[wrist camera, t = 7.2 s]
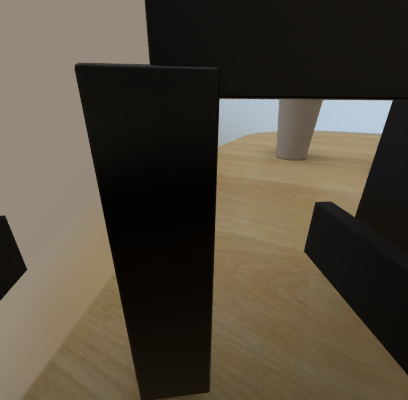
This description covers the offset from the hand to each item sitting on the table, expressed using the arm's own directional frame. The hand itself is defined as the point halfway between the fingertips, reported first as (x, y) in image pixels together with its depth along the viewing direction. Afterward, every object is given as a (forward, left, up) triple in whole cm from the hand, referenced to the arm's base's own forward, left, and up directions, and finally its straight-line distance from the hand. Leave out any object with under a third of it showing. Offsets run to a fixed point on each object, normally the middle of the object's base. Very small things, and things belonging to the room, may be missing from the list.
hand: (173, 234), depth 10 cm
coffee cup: (-7, +47, -7) cm, 48 cm away
